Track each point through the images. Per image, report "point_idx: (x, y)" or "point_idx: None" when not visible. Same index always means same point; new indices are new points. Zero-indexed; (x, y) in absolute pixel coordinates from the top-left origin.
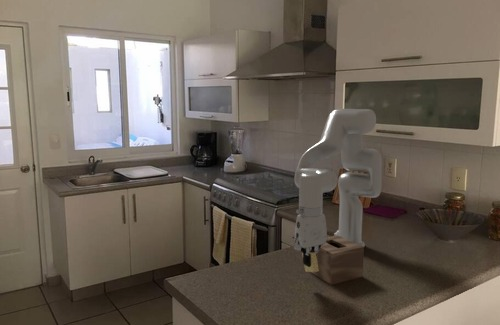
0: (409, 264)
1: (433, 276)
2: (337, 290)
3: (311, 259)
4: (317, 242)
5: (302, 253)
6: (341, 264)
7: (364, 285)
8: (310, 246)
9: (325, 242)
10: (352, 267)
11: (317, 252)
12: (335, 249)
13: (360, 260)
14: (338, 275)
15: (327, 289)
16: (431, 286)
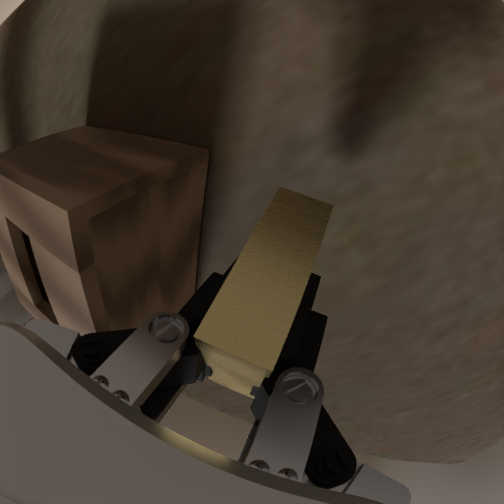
0: (7, 120)
1: (13, 49)
2: (228, 95)
3: (298, 305)
4: (85, 454)
5: (251, 397)
6: (92, 160)
7: (117, 70)
8: (282, 496)
9: (2, 324)
10: (74, 142)
11: (162, 317)
12: (39, 239)
13: (34, 144)
14: (148, 149)
15: (258, 135)
16: (38, 5)
